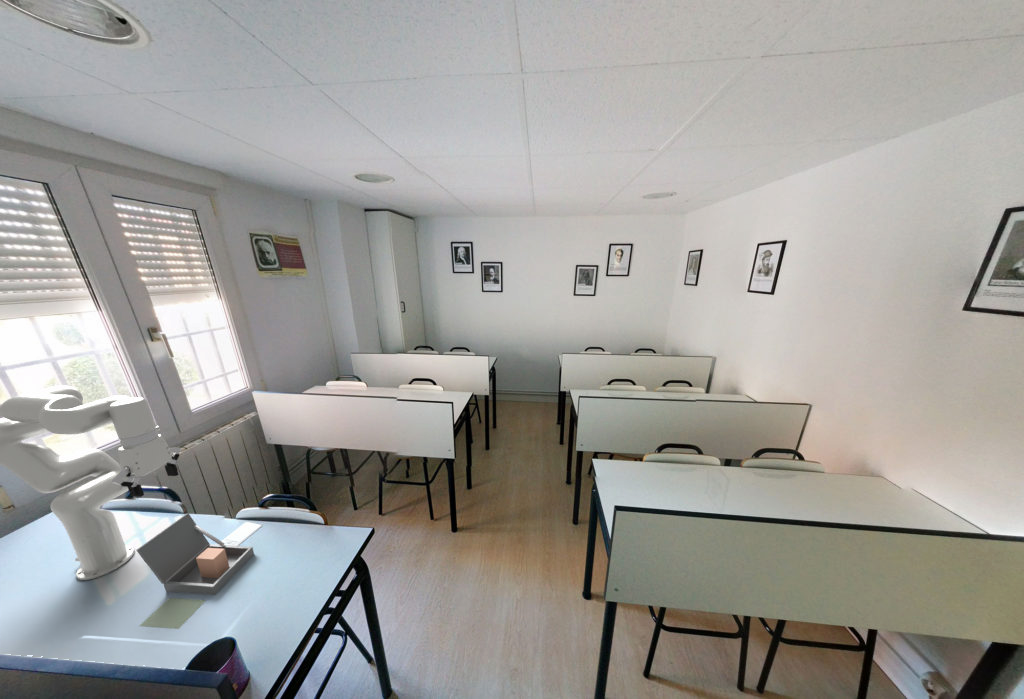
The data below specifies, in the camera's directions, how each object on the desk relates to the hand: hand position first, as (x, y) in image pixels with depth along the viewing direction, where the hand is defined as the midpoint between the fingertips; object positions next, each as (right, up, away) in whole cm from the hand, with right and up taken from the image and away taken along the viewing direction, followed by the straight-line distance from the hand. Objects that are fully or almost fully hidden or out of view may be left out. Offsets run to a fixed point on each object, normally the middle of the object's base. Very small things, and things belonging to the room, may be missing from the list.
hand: (156, 485), depth 99 cm
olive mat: (+11, -37, -5) cm, 39 cm away
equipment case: (+8, -34, +8) cm, 36 cm away
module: (+12, -33, +7) cm, 36 cm away
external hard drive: (+7, -31, +22) cm, 38 cm away
